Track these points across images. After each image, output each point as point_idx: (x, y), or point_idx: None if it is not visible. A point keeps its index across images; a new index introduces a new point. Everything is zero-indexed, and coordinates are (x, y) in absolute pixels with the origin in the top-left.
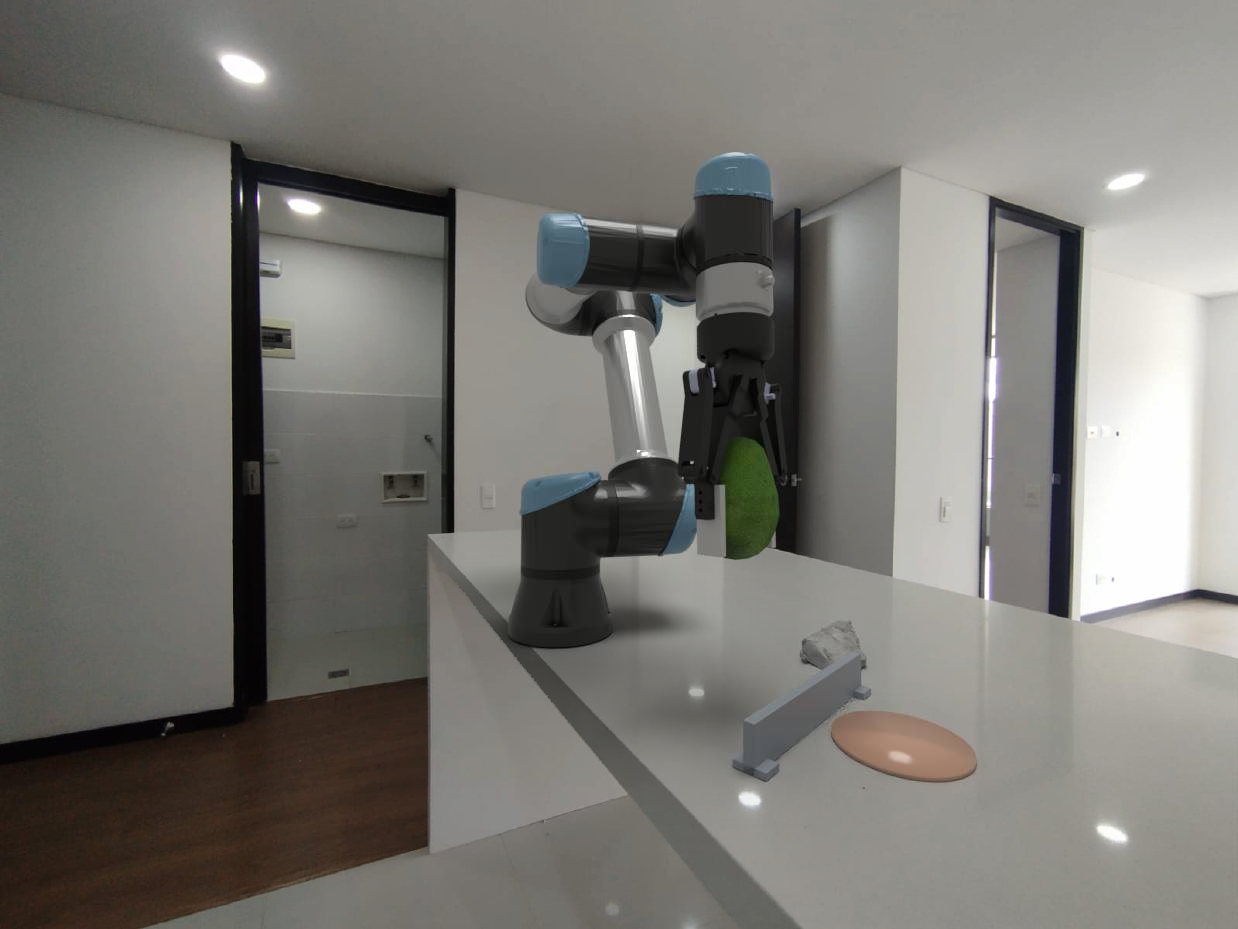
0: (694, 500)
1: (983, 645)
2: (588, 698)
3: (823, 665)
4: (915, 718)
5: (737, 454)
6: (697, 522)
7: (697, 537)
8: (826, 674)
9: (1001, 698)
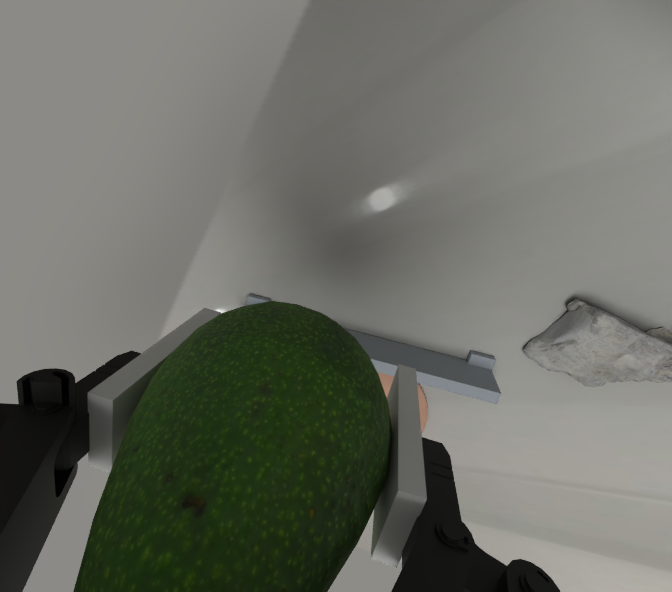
0: (89, 374)
1: None
2: (283, 73)
3: (550, 332)
4: (422, 423)
5: None
6: (164, 338)
7: (184, 323)
8: (391, 373)
9: (532, 493)
